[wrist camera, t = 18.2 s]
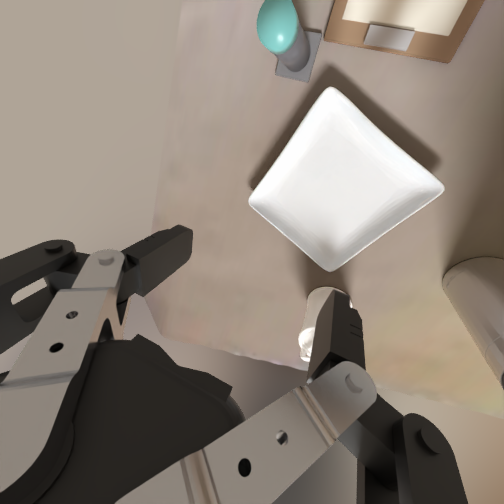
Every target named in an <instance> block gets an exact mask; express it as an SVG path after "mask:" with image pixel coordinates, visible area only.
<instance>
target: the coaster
mask: <svg viewBox="0 0 504 504" xmlns="http://www.w3.org/2000/svg"><path fill="white" fill-rule="evenodd" d="M304 33H305V36H306V38H307V40H308V43H309V45H310V58H309V61H308V63H307V65H306V66H305V67H304V68H303V69H302V70H300V71H298V72H292V71H290V70H289V69H288V68H287V67H286V66H285V65H284V64H283V63H282V62H281V61H280V60H278V64H277V69H276V74H275V75H277V76H282V77H286V78H290V79H295V80H299V81H304V82H309V78H310V75H311V71H312V68H313V64H314V61H315V57H316V54H317V50H318V47H319V44H320V40H321V37H322V34H320V33H314V32H309V31H304Z"/></svg>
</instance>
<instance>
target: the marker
mask: <svg viewBox="0 0 504 504" xmlns="http://www.w3.org/2000/svg"><path fill="white" fill-rule="evenodd" d="M257 33H258V36H259V39H260V41H261V42H262V44H263V45H264V46H265V47H266V48H267V49H268V50H269V51H270V52H271V53H273V54H274V55H275V56H276V57H277V58H278V59H279V60H280V61H281V62H282V63H283V64H284V65H285V66H286V67H287V68H288V69H289V70H290V71H292V72H298V71H300V70H302V69H303V68H304V67H305V66H306V65H307V63H308V61H309V58H310V45H309V43H308V40H307V38H306V36H305V33H304V31H303V29H302V27H301V24H300V22H299V18H298V15H297V12H296V10H295V7H294V5H293V3H292V1H291V0H265V1H264V3H263V4H262V6H261V8H260V11H259V14H258V18H257Z"/></svg>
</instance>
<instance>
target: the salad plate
mask: <svg viewBox="0 0 504 504" xmlns="http://www.w3.org/2000/svg"><path fill="white" fill-rule="evenodd" d="M444 190H445V187H444V185H443V183H442V182H441V181H440V180H439V179H438V178H436V177H435V176H434V175H433V174H432V173H431V172H429V171H428V170H427V169H426V168H425V167H423V166H422V165H421V164H420V163H418V162H417V161H416V160H415V159H413V158H412V157H411V156H410V155H409V154H407V153H406V152H405V151H404V150H403V149H401V148H400V147H399V146H398V145H397V144H396V143H394V142H393V141H392V140H391V139H390V138H389V137H388V136H386V135H385V134H384V133H383V132H382V131H381V130H380V129H379V128H378V127H377V126H375V125H374V124H373V123H372V122H371V121H370V120H369V119H368V118H367V117H366V116H365V115H364V114H363V113H362V112H361V111H360V110H359V109H358V107H357V106H356V105H355V104H354V103H353V102H352V101H351V100H349V99H348V98H347V97H346V96H345V95H344V94H343V93H341V92H340V91H339V90H338V89H336V88H335V87H332V86H329V87H327V88H326V89H325V90H324V91H323V92H322V93H321V94H320V96H319V97H318V98H317V100H316V101H315V103H314V104H313V105H312V107H311V108H310V110H309V111H308V113H307V114H306V116H305V117H304V119H303V120H302V122H301V123H300V125H299V127H298V128H297V130H296V131H295V133H294V134H293V136H292V137H291V139H290V140H289V142H288V143H287V145H286V146H285V148H284V149H283V151H282V152H281V154H280V155H279V157H278V158H277V159H276V161H275V162H274V164H273V165H272V166H271V168H270V169H269V171H268V172H267V173H266V175H265V176H264V177H263V179H262V180H261V181H260V183H259V184H258V185H257V187H256V188H255V189H254V191H253V192H252V194H251V195H250V197H249V200H248V203H249V205H250V206H251V207H252V208H253V209H254V210H255V211H256V212H258V213H259V214H260V215H261V216H262V217H263V218H265V219H266V220H267V221H268V222H270V223H271V224H272V225H273V226H274V227H275V228H277V229H278V230H279V231H280V232H281V233H283V234H284V235H285V236H286V237H287V238H288V239H290V240H291V241H292V242H293V243H294V244H295V245H297V246H298V247H299V248H300V249H301V250H302V251H303V252H304V253H305V254H307V255H308V256H309V257H310V258H311V259H312V260H313V261H314V262H315V263H316V264H318V265H319V266H320V267H321V268H323V269H324V270H326V271H328V272H332V271H334V270H336V269H338V268H339V267H341V266H342V265H343V264H345V263H346V262H347V261H349V260H350V259H351V258H353V257H354V256H355V255H357V254H358V253H359V252H361V251H362V250H363V249H365V248H366V247H367V246H369V245H370V244H371V243H373V242H374V241H375V240H377V239H378V238H380V237H381V236H382V235H384V234H385V233H387V232H388V231H390V230H391V229H392V228H394V227H395V226H397V225H398V224H399V223H401V222H402V221H404V220H405V219H407V218H408V217H410V216H411V215H413V214H414V213H415V212H417V211H418V210H420V209H421V208H423V207H424V206H425V205H427V204H428V203H430V202H431V201H432V200H434V199H435V198H437V197H438V196H439V195H440V194H442V193H443V191H444Z"/></svg>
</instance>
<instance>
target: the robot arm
mask: <svg viewBox="0 0 504 504" xmlns="http://www.w3.org/2000/svg"><path fill="white" fill-rule="evenodd" d="M192 240H193V231H192V230H191V229H189V228H187V227H184V226H182V225H177V226H175V227H173V228H171V229H166V230H162V231H158V232H156V233H154V234H152V235H151V236H149V237H147V238H145V239H144V240H141V241H139V242H137V243H135V244H133V245H131V246H130V247H128V248H126V249H124V250H122V251H117V250H101V251H97V252H95V253H93V254H91V255H90V254H85V253H79V252H76V249H75V246H74V244H73V243H72V242H70V241H67V240H51V241H46V242H43V243H40V244H38V245H35V246H33V247H30V248H28V249H25V250H23V251H20V252H18V253H15V254H13V255H10V256H8V257H5V258H3V259H0V354H2V353H3V352H5V351H6V350H7V349H9V348H10V347H12V346H13V345H15V344H16V343H18V342H19V341H20V340H22V339H23V338H25V337H26V336H28V335H29V334H31V333H32V332H33V334H32V335H31V337H30V339H29V340H28V342H27V344H26V345H25V347H24V349H23V350H22V352H21V354H20V355H19V357H18V359H17V360H16V362H15V364H14V365H13V367H12V369H11V370H10V371H7V372H4V373H1V374H0V504H271V503H272V502H273V501H275V500H276V499H277V498H278V497H279V496H280V495H281V494H282V493H283V492H284V491H285V490H286V489H287V488H288V487H289V486H290V485H291V484H292V483H293V482H294V481H295V480H296V479H297V478H298V477H299V476H300V475H301V474H302V473H304V472H305V470H307V469H308V468H309V467H310V466H311V465H312V464H313V463H314V462H315V461H316V460H317V459H318V458H319V457H320V456H321V455H322V454H323V453H324V452H325V451H326V450H327V449H328V448H329V447H330V446H331V445H332V444H333V443H334V442H335V441H336V439H338V440H339V441H340V442H341V443H342V444H343V445H344V446H345V447H346V448H347V449H348V450H349V451H350V452H351V453H352V454H353V455H354V456H355V457H356V458H357V504H468V501H467V498H466V494H465V491H464V487H463V484H462V480H461V477H460V473H459V470H458V467H457V463H456V459H455V456H454V453H453V450H452V448H451V446H450V444H449V443H448V441H447V440H446V438H445V437H444V435H443V434H442V433H441V432H440V430H439V429H438V428H437V427H436V426H435V425H434V424H433V423H431V422H430V421H429V420H427V419H426V418H424V417H423V416H421V415H418V414H415V413H410V414H407V415H405V416H403V415H402V414H401V413H399V412H398V411H397V410H396V409H394V408H393V407H392V406H391V405H390V404H388V403H387V402H386V401H385V400H384V399H383V398H381V397H380V396H379V395H378V393H377V391H376V386H375V384H374V382H373V380H372V378H371V377H370V375H369V374H368V373H367V372H366V368H365V355H364V341H363V331H362V330H363V328H362V319H361V317H360V315H359V313H358V311H357V310H355V309H353V308H351V307H350V296H349V295H347V294H345V293H342V292H340V291H337V290H335V289H333V290H332V291H331V293H330V295H329V296H328V298H327V300H326V301H325V303H324V305H323V306H322V308H321V310H320V312H319V314H318V317H317V321H316V326H315V332H314V338H313V344H312V350H311V357H310V363H309V369H308V375H307V383H309V384H308V385H306V386H305V387H303V388H302V387H297V388H295V389H294V390H292V391H290V392H289V393H287V394H286V395H284V396H283V397H281V398H280V399H278V400H277V401H275V402H274V403H272V404H270V405H269V406H267V407H266V408H264V409H263V410H262V411H260V412H258V413H257V414H255V415H254V416H252V417H250V418H249V419H247V420H246V419H245V417H244V414H243V412H242V411H241V409H240V407H239V406H238V405H237V403H236V402H235V400H234V399H233V398H232V397H231V396H230V393H231V390H232V386H230V385H228V384H227V383H225V382H223V381H221V380H219V379H218V378H216V377H214V376H212V375H211V374H209V373H206V372H202V371H198V370H193V369H189V368H185V367H181V366H178V365H177V364H176V363H175V362H174V361H173V360H172V359H171V358H170V357H169V356H168V355H167V353H166V352H165V351H164V350H163V349H162V348H161V347H160V346H159V345H157V344H155V343H154V342H152V341H150V340H148V339H146V338H144V337H143V336H141V335H139V334H138V335H136V337H134V338H133V339H132V340H123V333H124V327H125V323H126V319H127V315H128V310H129V306H130V302H131V295H133V294H134V293H136V294H138V295H140V296H142V297H144V296H145V295H147V294H148V293H149V292H150V291H151V290H153V289H154V288H155V287H156V286H158V285H159V284H160V283H161V282H163V281H164V280H165V279H166V278H167V277H169V276H170V275H171V274H172V273H174V272H175V271H176V270H177V269H179V268H180V267H181V266H182V265H184V264H185V263H186V262H187V261H188V260H189V258H190V256H191V253H192ZM41 278H44V280H45V282H46V284H47V287H45V288H43V289H41V290H39V291H38V292H36V293H34V294H32V295H30V296H29V297H27V298H25V299H23V300H21V301H20V302H18V303H16V304H14V305H12V303H11V298H12V296H13V295H14V293H16V292H17V291H18V290H20V289H22V288H24V287H26V286H28V285H29V284H31V283H33V282H35V281H37V280H39V279H41ZM442 286H443V290H444V291H445V293H446V295H447V296H448V298H449V300H450V301H451V303H452V305H453V307H454V308H455V310H456V312H457V313H458V315H459V317H460V318H461V320H462V322H463V323H464V325H465V327H466V328H467V330H468V332H469V333H470V335H471V337H472V338H473V340H474V342H475V343H476V345H477V347H478V348H479V350H480V352H481V353H482V355H483V357H484V358H485V360H486V362H487V363H488V365H489V366H490V368H491V370H492V371H493V373H494V375H495V376H496V378H497V380H498V381H499V383H500V384H501V386H502V388H503V389H504V260H503V259H499V258H493V257H480V258H473V259H469V260H466V261H463V262H461V263H459V264H457V265H455V266H453V267H452V268H451V269H450V270H449V271H448V272H447V273H446V274H445V276H444V278H443V282H442Z"/></svg>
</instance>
